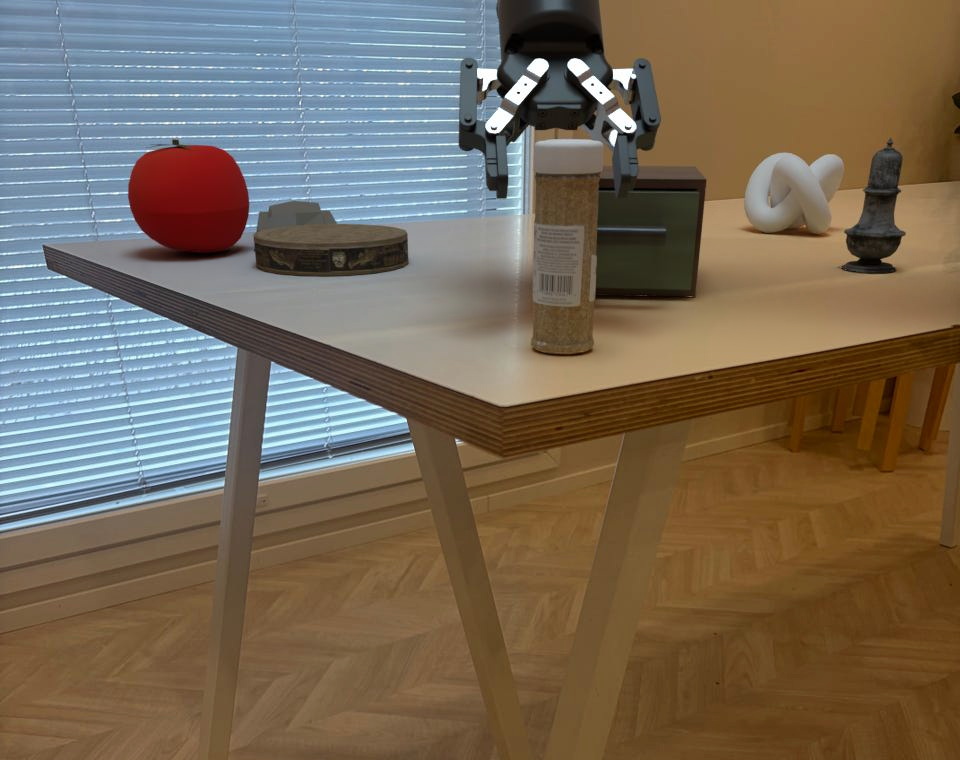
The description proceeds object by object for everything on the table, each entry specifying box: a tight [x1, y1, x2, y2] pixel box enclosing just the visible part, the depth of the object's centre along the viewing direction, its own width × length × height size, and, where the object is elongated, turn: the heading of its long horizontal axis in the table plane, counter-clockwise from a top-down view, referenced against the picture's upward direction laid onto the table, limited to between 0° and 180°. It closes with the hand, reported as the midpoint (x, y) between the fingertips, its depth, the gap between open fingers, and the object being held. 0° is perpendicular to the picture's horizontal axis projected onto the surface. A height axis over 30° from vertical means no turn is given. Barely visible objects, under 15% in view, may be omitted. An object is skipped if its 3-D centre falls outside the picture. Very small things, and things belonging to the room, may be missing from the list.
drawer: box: [596, 188, 700, 290], centre depth 92 cm, size 18×11×8 cm, turn 173°
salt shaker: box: [841, 137, 907, 274], centre depth 102 cm, size 6×6×12 cm
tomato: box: [127, 138, 250, 254], centre depth 112 cm, size 12×14×12 cm
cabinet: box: [595, 165, 708, 297], centre depth 96 cm, size 15×13×10 cm
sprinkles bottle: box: [530, 138, 604, 355], centre depth 70 cm, size 5×5×13 cm
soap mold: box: [253, 200, 338, 252], centre depth 125 cm, size 10×20×4 cm, turn 10°
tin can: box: [253, 223, 409, 277], centre depth 107 cm, size 16×16×3 cm
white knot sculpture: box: [743, 152, 845, 235], centre depth 129 cm, size 11×12×9 cm
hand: (563, 190), depth 72 cm, fingers open, 8 cm apart
